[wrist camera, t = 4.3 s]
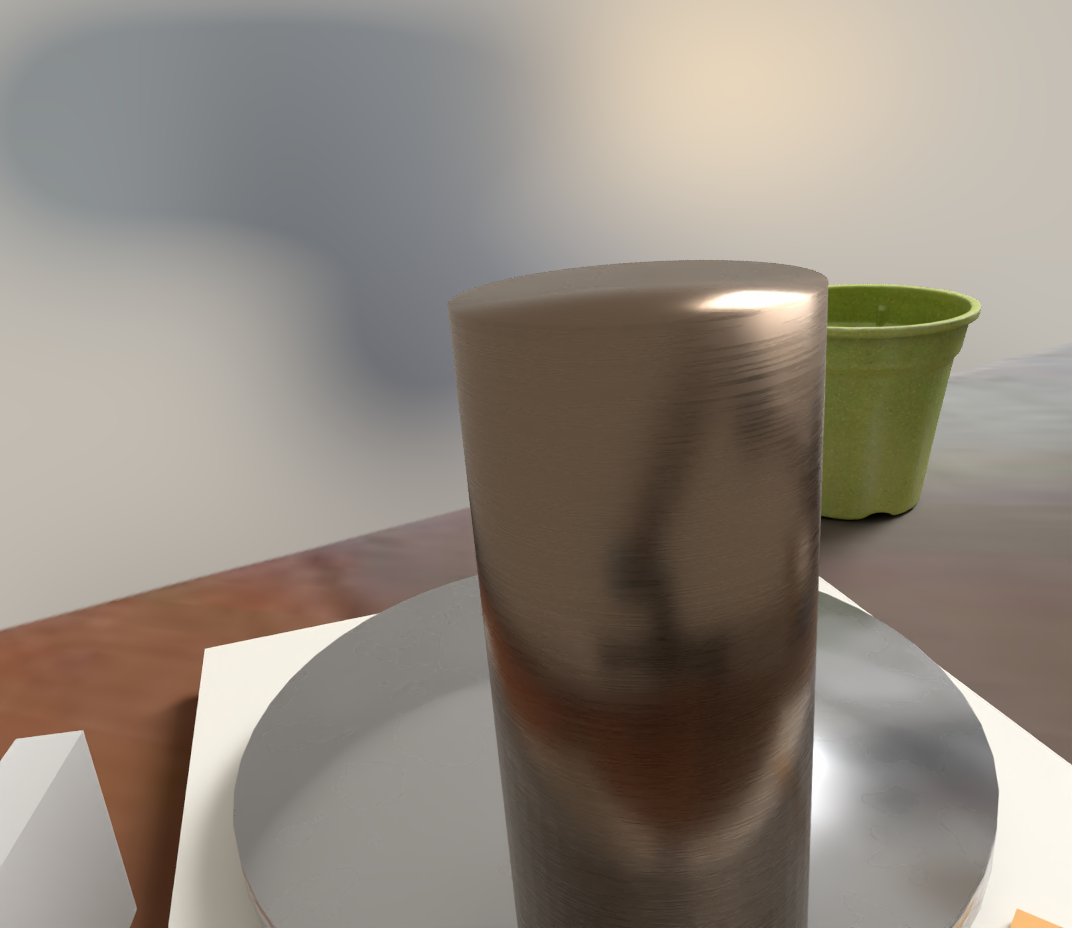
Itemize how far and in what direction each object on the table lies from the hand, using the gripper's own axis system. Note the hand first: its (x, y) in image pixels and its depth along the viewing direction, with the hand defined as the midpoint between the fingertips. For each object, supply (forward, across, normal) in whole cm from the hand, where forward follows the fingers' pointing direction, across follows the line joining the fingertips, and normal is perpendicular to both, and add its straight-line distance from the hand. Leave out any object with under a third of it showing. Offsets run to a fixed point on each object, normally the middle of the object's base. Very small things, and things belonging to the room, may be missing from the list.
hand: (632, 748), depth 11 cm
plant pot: (+26, +15, -9) cm, 31 cm away
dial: (+9, +1, -7) cm, 11 cm away
